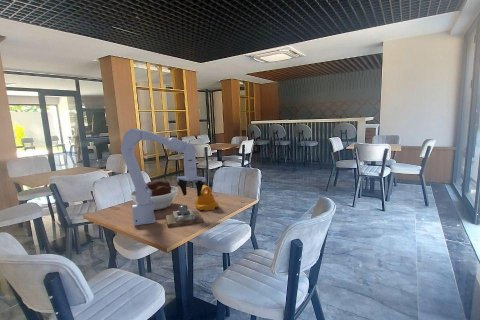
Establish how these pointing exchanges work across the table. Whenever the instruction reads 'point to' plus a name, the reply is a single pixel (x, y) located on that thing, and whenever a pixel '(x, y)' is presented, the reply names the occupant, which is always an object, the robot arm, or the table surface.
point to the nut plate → (183, 218)
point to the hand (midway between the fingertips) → (192, 195)
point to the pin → (183, 210)
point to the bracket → (206, 199)
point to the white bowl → (159, 194)
